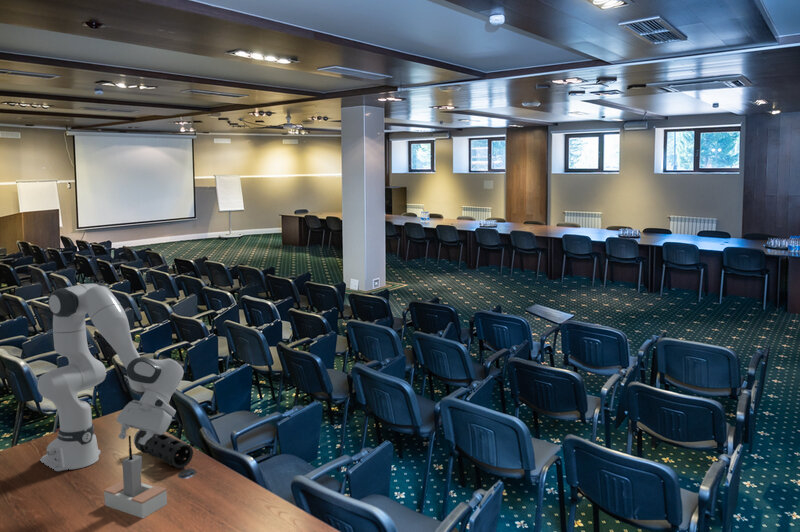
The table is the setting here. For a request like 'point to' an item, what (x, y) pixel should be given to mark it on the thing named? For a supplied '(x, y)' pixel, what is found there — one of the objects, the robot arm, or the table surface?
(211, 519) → the table surface
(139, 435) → the muzzle brake
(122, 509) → the tan rectangular frame
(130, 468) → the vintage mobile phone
